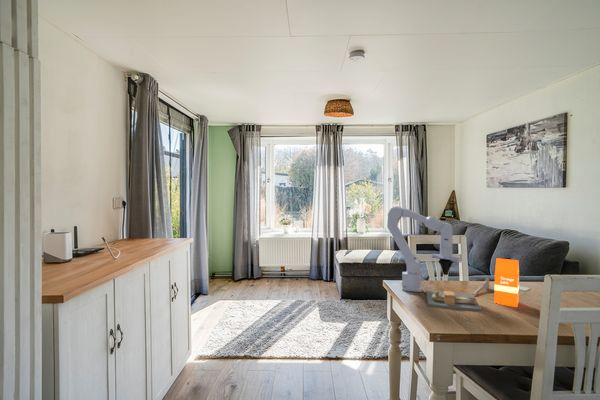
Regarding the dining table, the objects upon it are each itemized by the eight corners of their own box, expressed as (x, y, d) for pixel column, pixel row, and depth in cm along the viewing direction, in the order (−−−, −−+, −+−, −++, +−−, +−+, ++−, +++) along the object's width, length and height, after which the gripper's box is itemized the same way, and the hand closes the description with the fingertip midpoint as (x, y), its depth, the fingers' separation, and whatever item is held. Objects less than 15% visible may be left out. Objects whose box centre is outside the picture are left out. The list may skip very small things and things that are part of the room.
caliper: (486, 288, 173) (487, 276, 173) (489, 289, 172) (489, 277, 172) (471, 297, 160) (471, 284, 159) (473, 297, 159) (474, 284, 159)
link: (432, 300, 149) (432, 292, 149) (431, 297, 153) (431, 290, 153) (476, 304, 144) (477, 296, 144) (475, 301, 148) (475, 293, 147)
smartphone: (525, 290, 167) (494, 283, 179) (525, 293, 167) (493, 285, 179) (531, 288, 172) (499, 281, 184) (531, 290, 172) (499, 283, 184)
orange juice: (517, 307, 144) (518, 261, 144) (494, 303, 150) (494, 259, 149) (518, 302, 151) (519, 259, 150) (496, 298, 156) (497, 256, 156)
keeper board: (428, 306, 146) (428, 295, 146) (426, 292, 166) (426, 282, 166) (481, 311, 139) (481, 300, 139) (472, 296, 159) (472, 286, 159)
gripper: (428, 246, 167) (427, 272, 168) (456, 250, 156) (455, 278, 156) (436, 244, 172) (435, 270, 172) (463, 248, 160) (463, 276, 160)
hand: (445, 274), depth 164 cm, fingers closed
